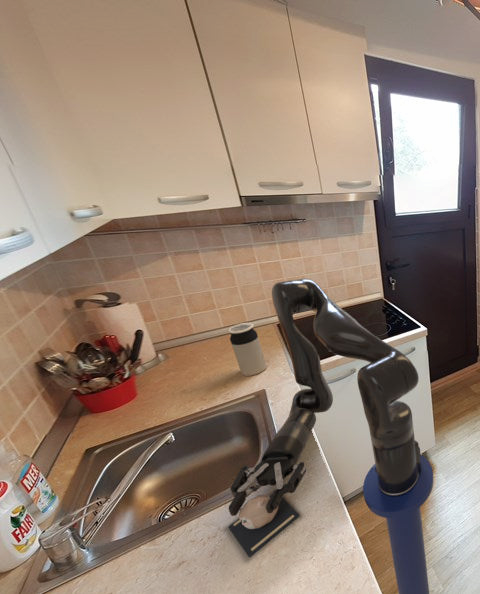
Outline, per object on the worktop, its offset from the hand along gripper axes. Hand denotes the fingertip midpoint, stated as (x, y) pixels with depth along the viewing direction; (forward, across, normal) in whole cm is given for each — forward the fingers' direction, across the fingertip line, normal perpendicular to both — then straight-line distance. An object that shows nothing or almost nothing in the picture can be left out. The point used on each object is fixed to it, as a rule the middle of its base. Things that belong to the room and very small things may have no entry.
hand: (250, 511), depth 66 cm
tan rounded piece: (-2, 0, +6) cm, 7 cm away
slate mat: (-2, 0, +6) cm, 7 cm away
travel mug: (-61, -33, +7) cm, 70 cm away
